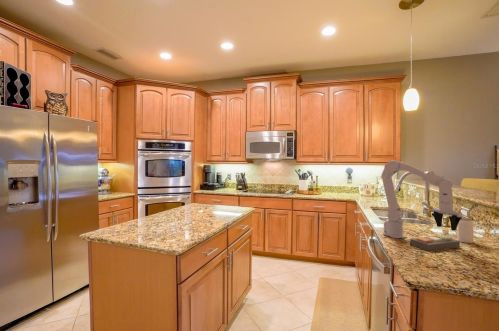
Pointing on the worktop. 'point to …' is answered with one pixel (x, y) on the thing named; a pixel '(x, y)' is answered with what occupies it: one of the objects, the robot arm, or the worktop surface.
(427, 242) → the terracotta key
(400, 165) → the robot arm
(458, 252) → the worktop surface
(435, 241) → the cream key
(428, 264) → the worktop surface
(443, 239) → the sage key
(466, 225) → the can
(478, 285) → the worktop surface
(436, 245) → the keypad
